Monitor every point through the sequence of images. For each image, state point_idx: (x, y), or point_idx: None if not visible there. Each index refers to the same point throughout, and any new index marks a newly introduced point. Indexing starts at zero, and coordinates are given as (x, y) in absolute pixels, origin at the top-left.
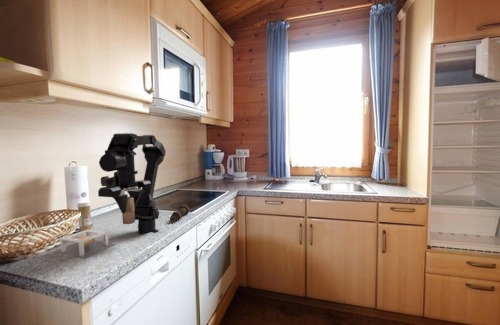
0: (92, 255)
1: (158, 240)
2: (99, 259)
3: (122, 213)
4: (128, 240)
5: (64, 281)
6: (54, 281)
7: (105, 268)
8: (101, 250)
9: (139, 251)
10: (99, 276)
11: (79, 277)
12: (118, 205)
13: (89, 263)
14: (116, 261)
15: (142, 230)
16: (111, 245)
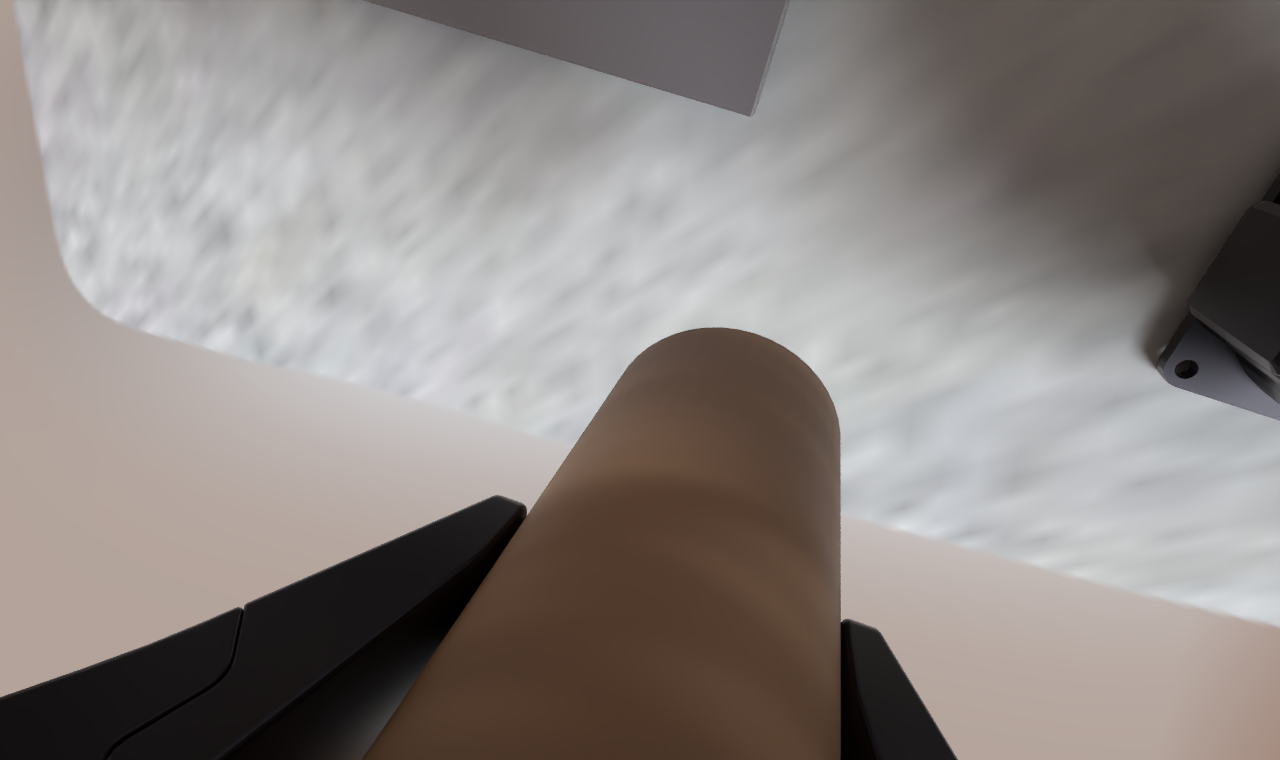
0: (405, 12)
1: (959, 544)
2: (419, 122)
3: (557, 472)
4: (1013, 138)
5: (61, 100)
6: (27, 5)
7: (298, 306)
8: (540, 25)
9: None
10: (201, 334)
11: (138, 182)
12: (273, 604)
13: (327, 75)
14: (419, 330)
15: (1220, 321)
16: (705, 57)
